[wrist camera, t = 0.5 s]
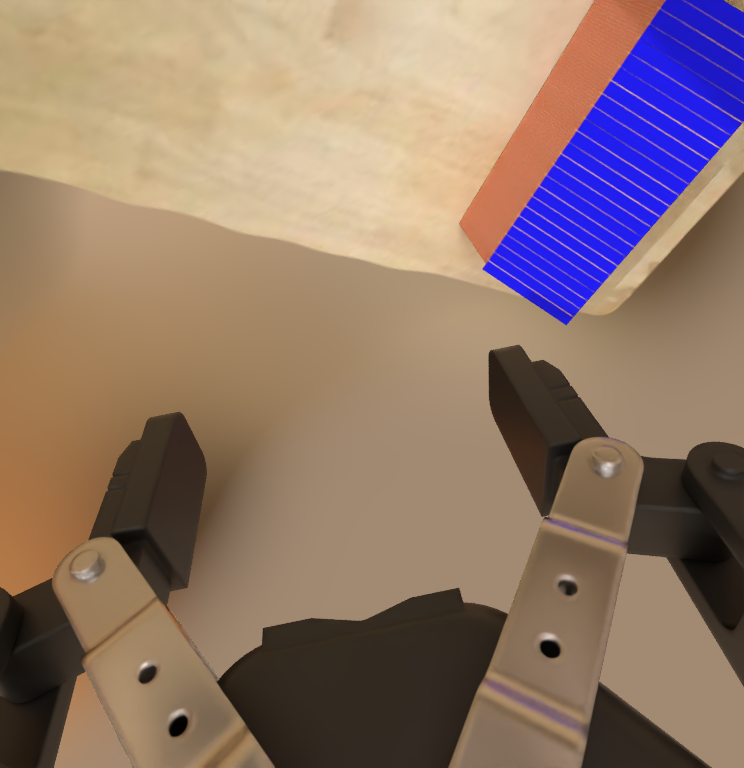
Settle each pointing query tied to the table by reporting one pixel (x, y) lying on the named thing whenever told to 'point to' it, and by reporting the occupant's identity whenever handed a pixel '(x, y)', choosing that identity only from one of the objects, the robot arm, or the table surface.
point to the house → (609, 145)
